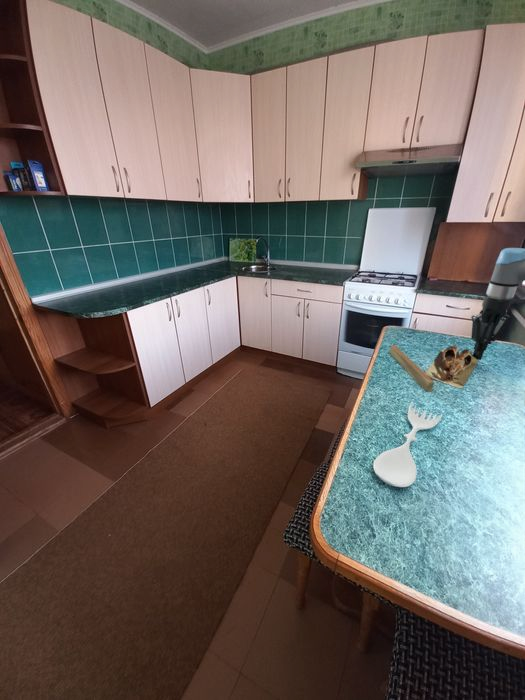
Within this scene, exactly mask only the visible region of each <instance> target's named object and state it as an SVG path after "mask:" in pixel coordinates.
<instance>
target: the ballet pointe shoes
mask: <svg viewBox="0 0 525 700" xmlns="http://www.w3.org/2000/svg"><path fill="white" fill-rule="evenodd" d="M478 362H479V360H477V359H476V358H474V357H473V352H472V351H471V350H470V349H468V348H466V349H463V350H462V351H461V352H460V349H459V347H458V346H454V345H453V346H449V347H447V348H445V349H442V348H441V349H440V351H439V352H438V354H437V356H436V357H435V358H434V360H433V361H432V363H431V365H430V366H428V368H427V369H426V371H425V372H424V373H425V374H426V375H427V376H428V377H429V378H430V379H431V380H435V381H438V382H441V383H444V384H446V385H449V386H453V387H455V388H458V389H461V390H463V388H464V387H465V384H466V383H467V381H468V380H469V377H470V375H472V373H473V370H474V369H475V368H476V366H477V364H478Z"/></svg>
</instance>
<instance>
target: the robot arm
mask: <svg viewBox="0 0 525 700" xmlns="http://www.w3.org/2000/svg"><path fill="white" fill-rule="evenodd" d="M521 281H525V248H521V247H506V248H503V249H501V251H500V253H499V255H498V257H497V259H496V261H495V265H494V268H493V271H492V275H491V278H490V280H489V283H488V286H487V289H486V292H485V294H486V295H485V296H484V298H483V301H482V303H481V307H482V308H481V310H479V314H476V315H471V317H470V319H471V321H472V327H471V336H470V339H471V340H472V341H474V342H475V344H474V346H473V352H472V355H473V357H474V358H476V359H477V360H478V361H479V360H482V358H483V355H484V353H485V351H486V350H487V348H488V346H489V345H491V344H492V342H496V341H497V339H498V337H499V336H500V334H501V333H502V332H503V330H504V328H505V326H506V325H507V324H508V322H510V321H511V320H512V316H511V315H508V314H507V313H508V312H507V311H509V309H510V308H511V304H512V302H513V299H514V297H515V295H516V292H517V289H518V287H519V284H520V282H521Z"/></svg>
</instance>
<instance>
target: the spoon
mask: <svg viewBox="0 0 525 700" xmlns="http://www.w3.org/2000/svg"><path fill="white" fill-rule="evenodd" d="M416 410H417V405H415V406H414V407H413V402H410V404H409V406H408V410H407V420H408V421H409V423H410V425H411V426H412V429H411V430H410V432H409V433H405V434H403V437H404V438H405V439H406V441H405V442H404V443H403V444H402V445H400V446H397V447H395V448H391V449H388V450H385V451H383V452H381V453H379V454H378V456H376V458H375V459H374V461H373V463H372V464H373V465H372V467H373V471H374V473H375V474H376V476H377V477H378V478H379V479H380V480H381V481H382V482H384V483H385V484H387V485H389V486H392V487H395V488H406V487H410V486H411V485H413V484H414V483H415V482H416V478H417V474H418V470H417V465H416V462H415V460H414V457H413V456H412V453H411V450H410V445H411V443H412V442H413V443H415V442H417V441H418V438H417V437H416V434H417V433H418V431H423V430H424V431H425V430H430V429H432V428H434V427H435V426H436V425H437V424H438V423H439V422H440V421H441V420H442V418H443V413H441V414H440V415H439V416H438V417H437V415H438V413H437V412H436V413H435V414H434V415H433V412H430V414H429V415H428V417H427V411H426V410H424V411H423V412H422V413H421V415H420V411H421V407H419V408H418V410H417V411H416ZM432 416H433V417H432ZM426 417H427V418H426Z"/></svg>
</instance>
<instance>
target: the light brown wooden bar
mask: <svg viewBox="0 0 525 700" xmlns="http://www.w3.org/2000/svg"><path fill="white" fill-rule="evenodd" d="M389 354H390V356H392V357H393V358H394V359H395V361H396V362H397V363H398V364H399V365H400V366H401V367H402V368H403V369H404V370H405V371H406V372H407V373H408V375H410V376H411V377H412V379H414V381H415V382H416V383H417V384H419V386H420V387H421V388H422V389H423V390H424V391H425V392H432V391H433V389H434V385H435V381H434V379H432V378H429V377H428V376H427V375H426V374H425V373H426V372H424V371H423V370H422V368H420V367H419V365H417V364H416V363H415V362H414V361H413V360H412V359H411V358H410V357H409V356H407V354H405V352H404V351H403V350H402V349H400V348H399V347H398V346H397V344H391V345H390V347H389Z"/></svg>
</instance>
